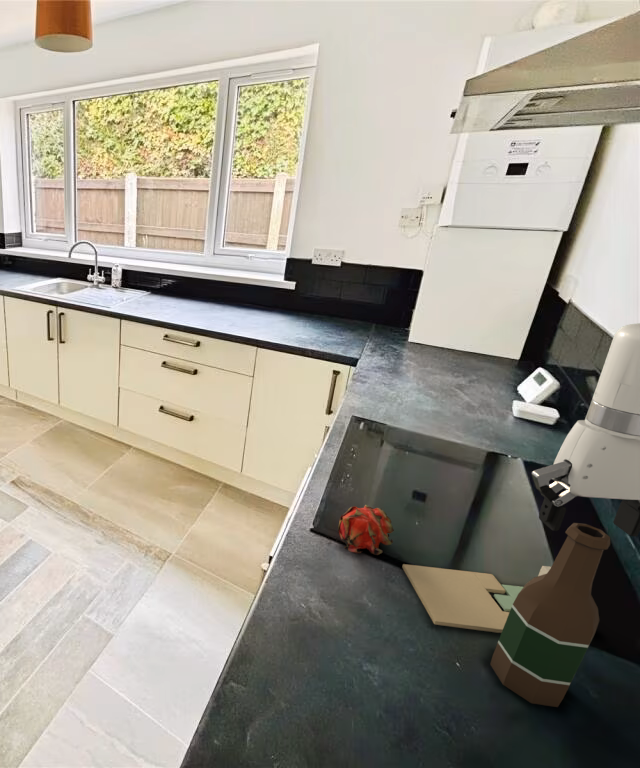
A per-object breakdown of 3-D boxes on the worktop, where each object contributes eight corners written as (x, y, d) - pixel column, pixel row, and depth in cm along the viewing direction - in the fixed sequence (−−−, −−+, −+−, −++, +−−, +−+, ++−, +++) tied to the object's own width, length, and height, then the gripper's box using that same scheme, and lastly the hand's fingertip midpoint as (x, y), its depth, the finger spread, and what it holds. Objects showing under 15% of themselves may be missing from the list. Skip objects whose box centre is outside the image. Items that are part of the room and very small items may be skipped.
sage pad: (554, 595, 74) (568, 560, 71) (593, 637, 66) (611, 600, 64) (483, 586, 75) (495, 552, 73) (513, 627, 68) (528, 590, 66)
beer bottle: (571, 724, 55) (652, 564, 47) (491, 690, 59) (553, 537, 50) (557, 673, 61) (626, 524, 53) (485, 645, 65) (539, 502, 57)
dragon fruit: (382, 542, 88) (345, 574, 82) (351, 503, 91) (313, 532, 86) (415, 528, 81) (377, 562, 75) (380, 487, 84) (341, 517, 79)
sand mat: (490, 579, 77) (492, 574, 77) (538, 640, 66) (541, 634, 65) (401, 569, 79) (402, 563, 79) (433, 627, 68) (435, 621, 67)
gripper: (675, 410, 62) (631, 516, 68) (534, 405, 65) (503, 507, 71) (736, 434, 55) (681, 550, 61) (574, 427, 58) (536, 539, 64)
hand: (585, 527), depth 66 cm, fingers open, 9 cm apart
